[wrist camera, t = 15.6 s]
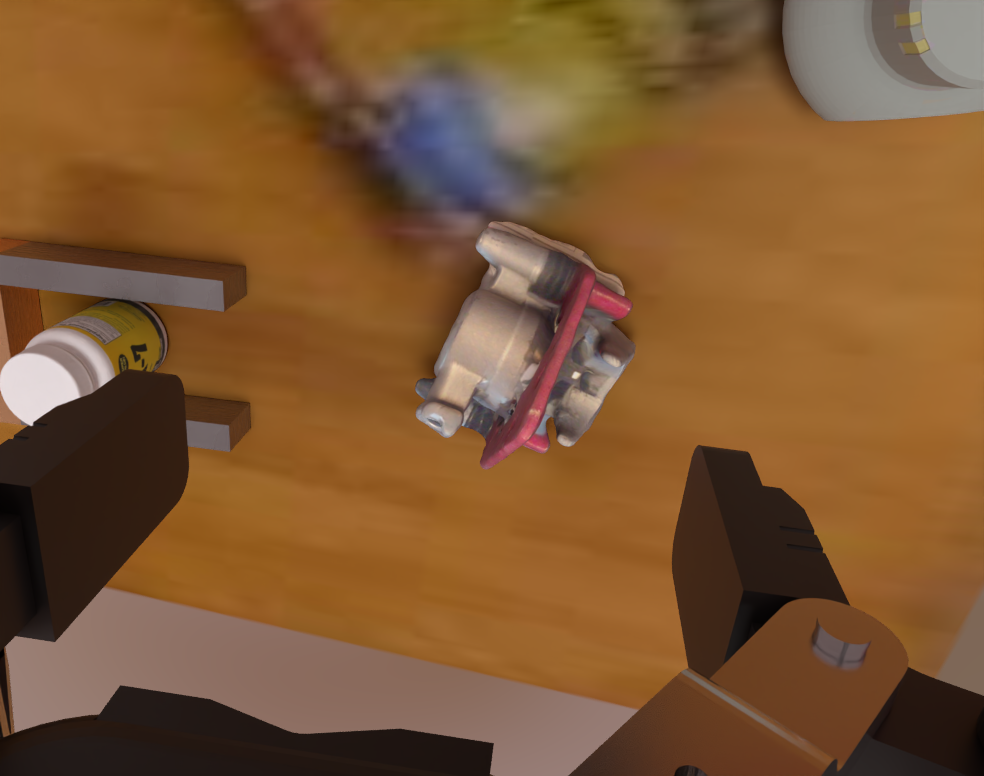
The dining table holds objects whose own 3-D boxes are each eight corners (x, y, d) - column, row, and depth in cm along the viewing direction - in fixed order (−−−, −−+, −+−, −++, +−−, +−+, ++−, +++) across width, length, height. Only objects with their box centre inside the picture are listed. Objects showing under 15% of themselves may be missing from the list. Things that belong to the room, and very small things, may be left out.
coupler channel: (3, 238, 44) (-36, 250, 41) (245, 266, 43) (222, 281, 40) (27, 399, 48) (-7, 421, 45) (250, 428, 47) (230, 451, 44)
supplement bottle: (156, 388, 46) (72, 455, 39) (80, 351, 46) (-20, 412, 38) (181, 318, 45) (98, 374, 37) (102, 279, 44) (1, 328, 36)
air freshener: (764, 118, 38) (825, 140, 29) (771, -82, 35) (841, -130, 25) (1013, 96, 36) (1161, 111, 27) (1044, -115, 33) (1222, -179, 24)
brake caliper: (601, 496, 44) (456, 538, 34) (472, 381, 49) (316, 389, 40) (714, 319, 39) (583, 310, 30) (558, 214, 45) (405, 178, 35)
